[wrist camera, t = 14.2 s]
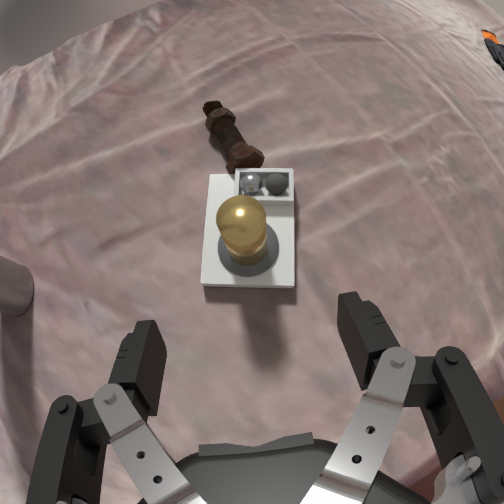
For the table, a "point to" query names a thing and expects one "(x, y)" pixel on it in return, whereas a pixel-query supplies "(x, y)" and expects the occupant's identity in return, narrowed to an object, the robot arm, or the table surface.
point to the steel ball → (251, 184)
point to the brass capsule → (243, 229)
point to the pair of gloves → (494, 47)
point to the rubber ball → (276, 184)
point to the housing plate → (277, 228)
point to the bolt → (231, 138)
